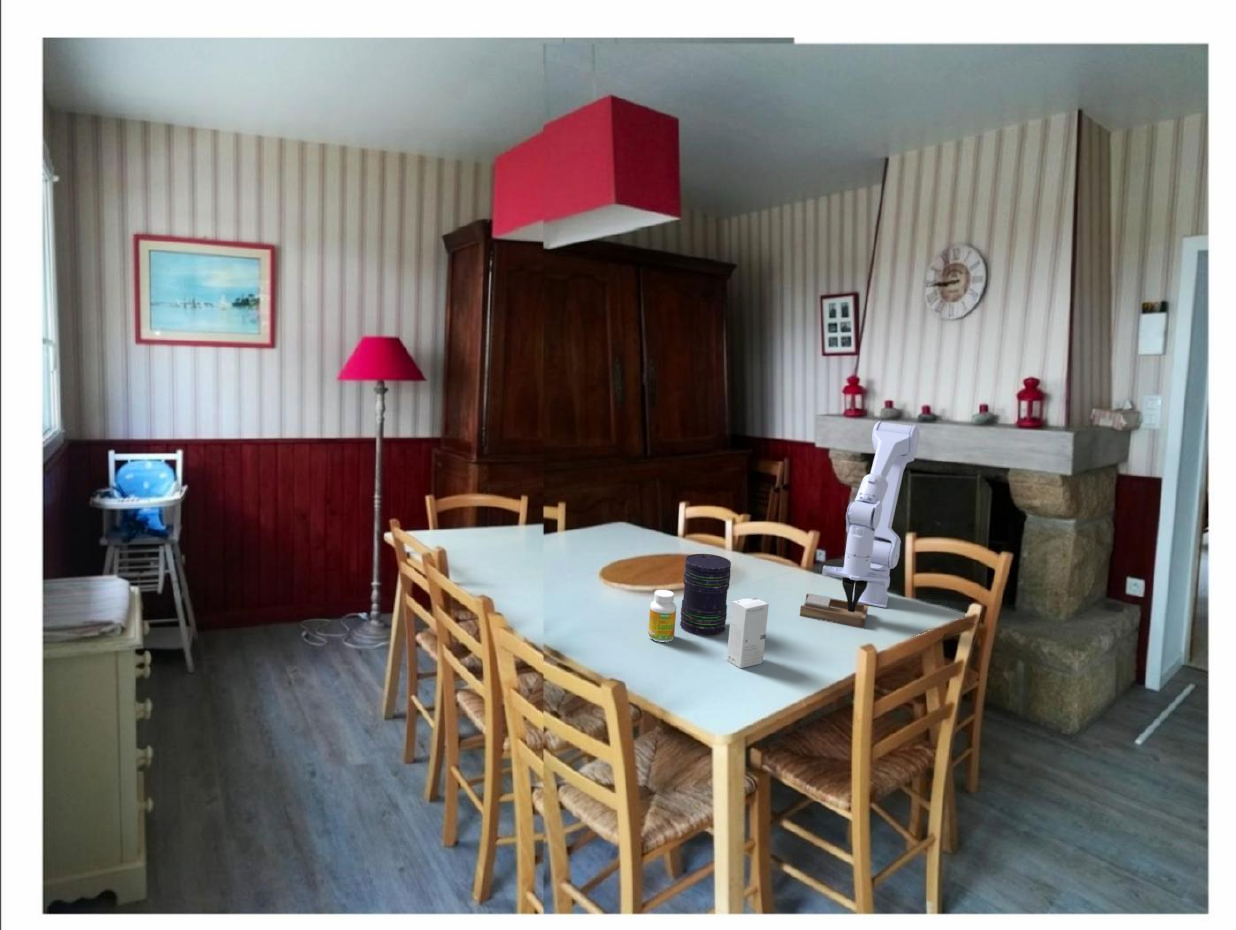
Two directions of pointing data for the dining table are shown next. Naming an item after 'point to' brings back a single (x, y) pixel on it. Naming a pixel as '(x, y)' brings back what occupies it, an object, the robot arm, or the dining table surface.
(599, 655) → the dining table surface
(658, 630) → the supplement bottle
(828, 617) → the wooden box
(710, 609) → the dark blue cylinder
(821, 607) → the cover plate
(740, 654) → the skincare box
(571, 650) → the dining table surface
